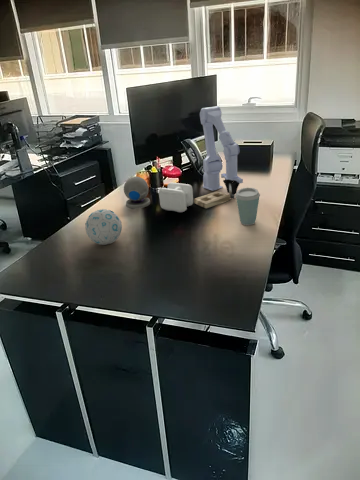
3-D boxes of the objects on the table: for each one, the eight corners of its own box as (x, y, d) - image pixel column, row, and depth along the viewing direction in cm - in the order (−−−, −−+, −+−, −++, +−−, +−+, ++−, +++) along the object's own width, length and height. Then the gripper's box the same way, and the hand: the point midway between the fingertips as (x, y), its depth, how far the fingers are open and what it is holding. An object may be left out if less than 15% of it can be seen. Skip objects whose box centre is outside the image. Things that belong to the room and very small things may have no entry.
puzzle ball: (90, 253, 148) (82, 220, 141) (88, 238, 161) (81, 207, 154) (126, 246, 151) (121, 213, 144) (121, 232, 164) (116, 201, 157)
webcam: (152, 199, 199) (148, 172, 192) (148, 208, 187) (144, 180, 181) (129, 200, 200) (125, 173, 193) (123, 209, 189) (119, 181, 182)
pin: (227, 197, 192) (227, 183, 188) (232, 196, 194) (231, 181, 190) (231, 199, 190) (231, 184, 186) (235, 197, 191) (235, 183, 188)
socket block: (194, 203, 189) (194, 198, 187) (217, 195, 196) (217, 190, 195) (206, 208, 181) (206, 203, 180) (230, 200, 189) (230, 195, 188)
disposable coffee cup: (259, 227, 157) (260, 195, 150) (234, 227, 160) (234, 195, 153) (259, 217, 167) (260, 186, 160) (235, 217, 169) (235, 187, 162)
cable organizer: (195, 206, 185) (194, 184, 179) (184, 214, 177) (183, 191, 172) (170, 202, 192) (168, 181, 187) (159, 209, 184) (157, 188, 179)
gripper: (216, 167, 188) (217, 191, 194) (235, 172, 177) (235, 198, 183) (226, 164, 191) (227, 188, 197) (246, 169, 180) (245, 195, 187)
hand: (231, 193), depth 191 cm, fingers closed on pin, 3 cm apart
